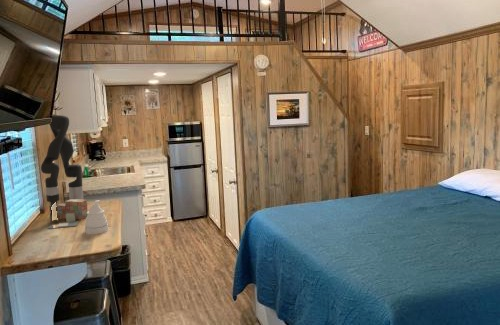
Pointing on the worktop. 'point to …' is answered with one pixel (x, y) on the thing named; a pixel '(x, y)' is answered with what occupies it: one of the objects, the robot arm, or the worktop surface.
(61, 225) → the slate board
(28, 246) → the worktop surface
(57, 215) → the walnut cube
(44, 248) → the worktop surface
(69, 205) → the stack of blocks
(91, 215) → the white tiered cone
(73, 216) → the sage cube
